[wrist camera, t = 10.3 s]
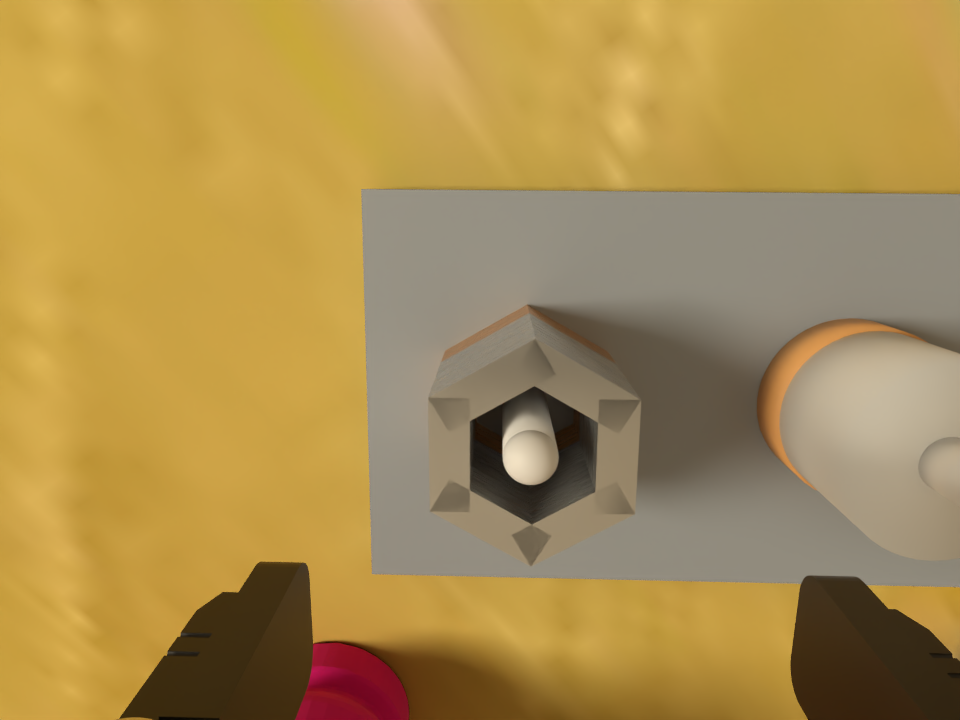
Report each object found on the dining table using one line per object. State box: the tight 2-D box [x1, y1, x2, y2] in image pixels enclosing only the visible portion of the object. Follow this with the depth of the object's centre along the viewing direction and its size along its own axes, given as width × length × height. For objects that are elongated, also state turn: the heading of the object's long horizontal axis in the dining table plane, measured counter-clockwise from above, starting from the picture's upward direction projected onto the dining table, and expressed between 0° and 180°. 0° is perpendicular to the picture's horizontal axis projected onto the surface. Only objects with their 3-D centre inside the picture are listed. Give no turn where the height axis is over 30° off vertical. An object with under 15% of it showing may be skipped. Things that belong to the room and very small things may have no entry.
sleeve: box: [428, 305, 641, 567], centre depth 22 cm, size 6×6×6 cm
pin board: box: [361, 189, 960, 587], centre depth 22 cm, size 14×22×9 cm, turn 90°
